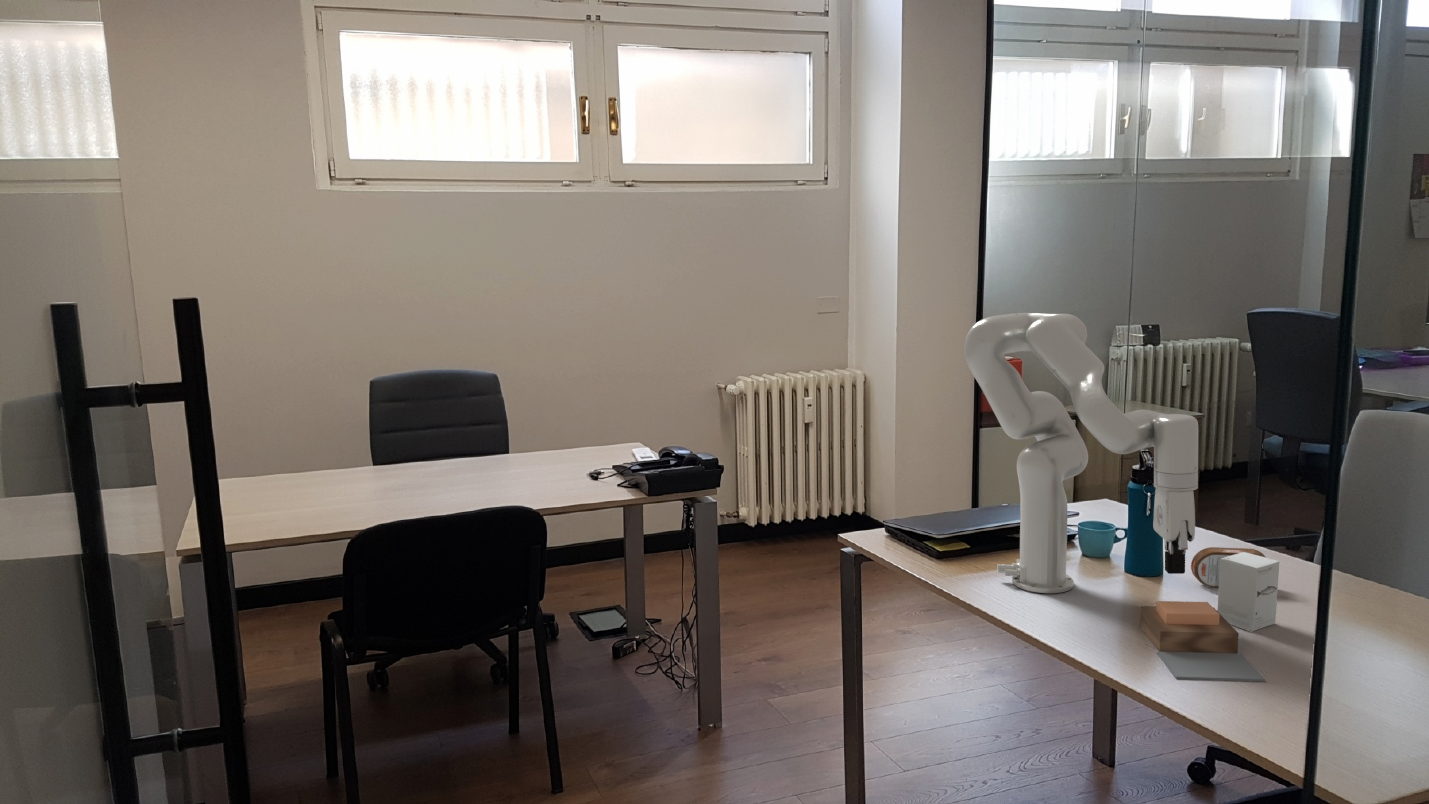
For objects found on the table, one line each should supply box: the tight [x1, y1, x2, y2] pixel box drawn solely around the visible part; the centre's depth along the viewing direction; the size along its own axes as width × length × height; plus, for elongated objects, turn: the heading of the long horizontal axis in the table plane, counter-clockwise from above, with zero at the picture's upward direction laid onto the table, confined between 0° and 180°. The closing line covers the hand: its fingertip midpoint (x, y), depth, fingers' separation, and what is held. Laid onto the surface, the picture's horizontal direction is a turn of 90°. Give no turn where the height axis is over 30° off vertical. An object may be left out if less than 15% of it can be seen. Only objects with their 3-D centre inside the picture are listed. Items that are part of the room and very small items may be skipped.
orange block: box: [1155, 600, 1220, 625], centre depth 173 cm, size 9×6×2 cm, turn 81°
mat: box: [1157, 650, 1266, 683], centre depth 162 cm, size 14×10×1 cm
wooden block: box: [1139, 605, 1239, 654], centre depth 173 cm, size 13×12×4 cm
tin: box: [1190, 546, 1267, 589], centre depth 197 cm, size 15×3×8 cm, turn 78°
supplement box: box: [1216, 552, 1280, 633], centre depth 179 cm, size 7×7×13 cm
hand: (1174, 572), depth 181 cm, fingers closed
